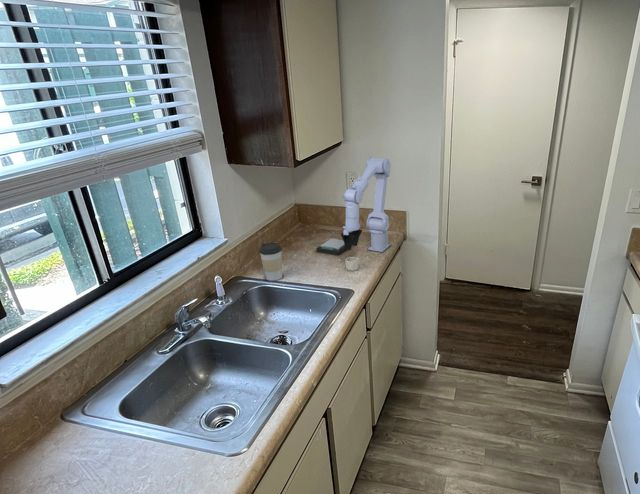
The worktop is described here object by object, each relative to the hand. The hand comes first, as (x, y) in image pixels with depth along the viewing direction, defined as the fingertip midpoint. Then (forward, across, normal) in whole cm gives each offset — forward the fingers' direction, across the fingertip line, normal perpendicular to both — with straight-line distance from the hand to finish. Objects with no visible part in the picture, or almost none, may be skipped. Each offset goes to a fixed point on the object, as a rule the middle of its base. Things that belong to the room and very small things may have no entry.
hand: (351, 247), depth 190 cm
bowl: (+10, -1, 0) cm, 10 cm away
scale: (+8, -20, -16) cm, 27 cm away
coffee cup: (+13, +14, -29) cm, 35 cm away
